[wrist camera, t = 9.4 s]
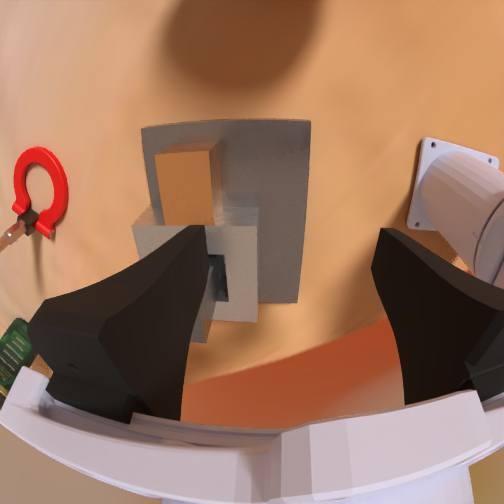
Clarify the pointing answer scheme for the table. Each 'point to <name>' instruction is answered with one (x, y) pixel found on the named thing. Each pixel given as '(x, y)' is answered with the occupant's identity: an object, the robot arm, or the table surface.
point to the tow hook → (27, 216)
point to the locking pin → (208, 299)
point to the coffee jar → (14, 355)
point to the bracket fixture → (232, 202)
